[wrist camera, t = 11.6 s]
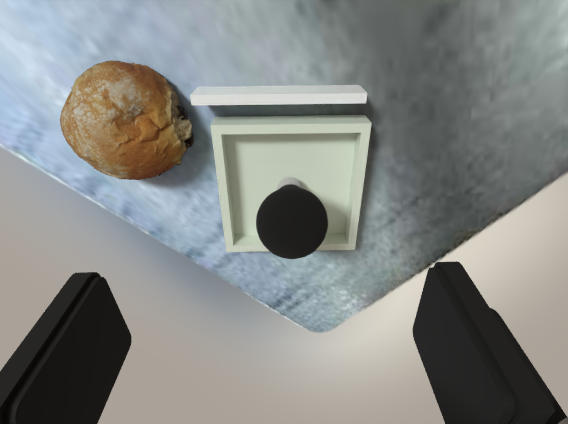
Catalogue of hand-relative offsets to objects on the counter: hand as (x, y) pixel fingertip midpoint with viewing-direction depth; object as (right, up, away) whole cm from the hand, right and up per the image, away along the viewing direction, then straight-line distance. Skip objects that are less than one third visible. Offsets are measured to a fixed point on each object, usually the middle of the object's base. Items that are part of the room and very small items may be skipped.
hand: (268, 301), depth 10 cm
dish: (+1, +6, +24) cm, 25 cm away
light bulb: (+1, +6, +24) cm, 24 cm away
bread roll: (-13, +11, +21) cm, 27 cm away
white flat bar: (0, +13, +19) cm, 24 cm away
